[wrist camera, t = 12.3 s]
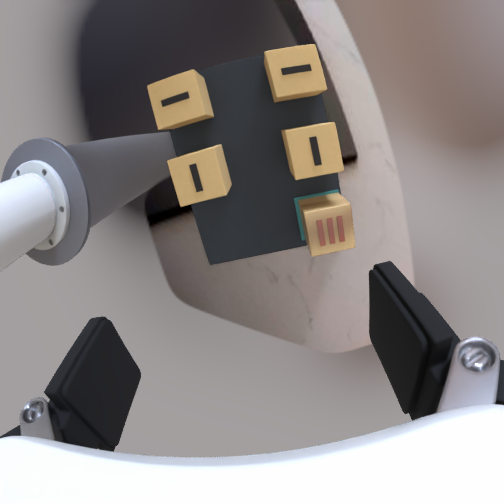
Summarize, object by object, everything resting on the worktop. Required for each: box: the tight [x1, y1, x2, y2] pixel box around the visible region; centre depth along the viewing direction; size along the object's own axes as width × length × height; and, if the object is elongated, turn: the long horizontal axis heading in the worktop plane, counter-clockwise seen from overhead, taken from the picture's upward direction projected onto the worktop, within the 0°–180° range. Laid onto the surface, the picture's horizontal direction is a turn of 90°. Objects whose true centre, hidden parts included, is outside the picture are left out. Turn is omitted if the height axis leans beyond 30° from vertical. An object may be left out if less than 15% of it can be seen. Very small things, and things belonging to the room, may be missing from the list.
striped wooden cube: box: [298, 193, 355, 256], centre depth 27 cm, size 4×4×5 cm
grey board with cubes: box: [147, 44, 344, 265], centre depth 25 cm, size 20×15×5 cm
